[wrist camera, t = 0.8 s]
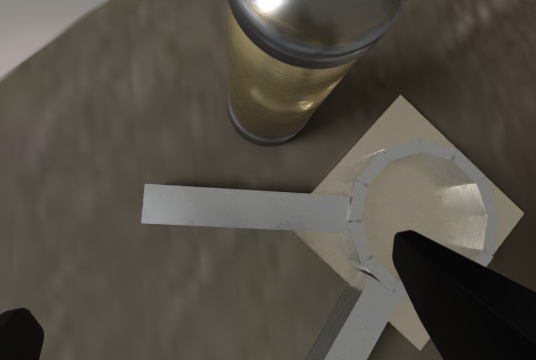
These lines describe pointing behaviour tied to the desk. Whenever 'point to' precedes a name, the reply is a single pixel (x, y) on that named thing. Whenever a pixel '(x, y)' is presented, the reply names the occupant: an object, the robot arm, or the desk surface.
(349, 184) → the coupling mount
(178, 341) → the desk surface
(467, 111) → the desk surface
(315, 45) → the glass jar
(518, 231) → the desk surface
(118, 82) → the desk surface
